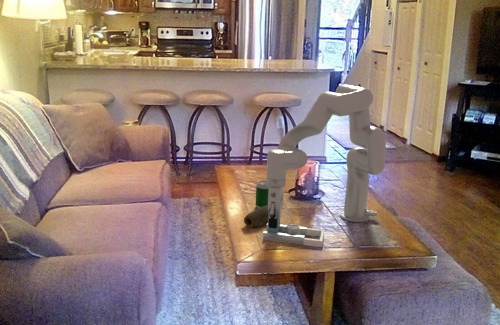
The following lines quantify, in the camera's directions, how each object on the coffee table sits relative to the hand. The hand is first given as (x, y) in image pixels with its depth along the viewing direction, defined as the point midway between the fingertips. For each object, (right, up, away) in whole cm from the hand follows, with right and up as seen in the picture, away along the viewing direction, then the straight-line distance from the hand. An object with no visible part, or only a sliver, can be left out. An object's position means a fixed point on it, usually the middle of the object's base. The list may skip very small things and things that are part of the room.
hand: (274, 224), depth 201 cm
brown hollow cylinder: (-6, -1, +14) cm, 15 cm away
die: (+7, -6, 0) cm, 9 cm away
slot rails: (+4, -5, 0) cm, 7 cm away
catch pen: (+15, -6, -2) cm, 16 cm away
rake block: (0, -4, +1) cm, 5 cm away
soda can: (-3, +4, +31) cm, 32 cm away
